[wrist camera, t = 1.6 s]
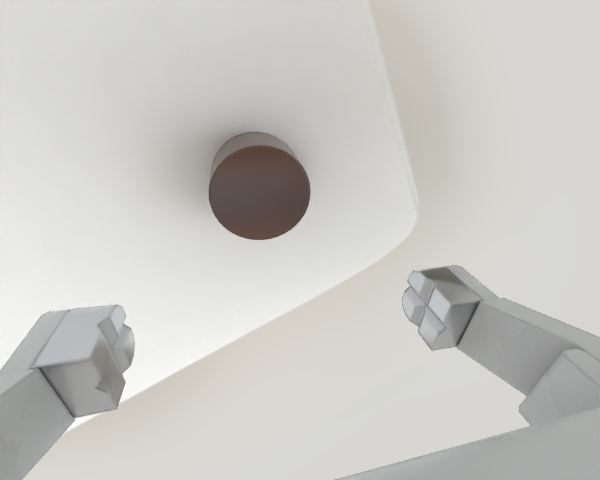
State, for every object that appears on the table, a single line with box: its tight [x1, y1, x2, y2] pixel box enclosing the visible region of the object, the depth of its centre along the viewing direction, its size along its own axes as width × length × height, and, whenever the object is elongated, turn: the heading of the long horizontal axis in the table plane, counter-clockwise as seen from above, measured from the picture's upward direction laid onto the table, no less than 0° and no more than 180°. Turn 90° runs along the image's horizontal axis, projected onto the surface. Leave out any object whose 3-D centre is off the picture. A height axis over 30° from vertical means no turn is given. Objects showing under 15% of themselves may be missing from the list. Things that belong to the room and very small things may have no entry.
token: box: [209, 132, 310, 240], centre depth 15 cm, size 5×5×3 cm
